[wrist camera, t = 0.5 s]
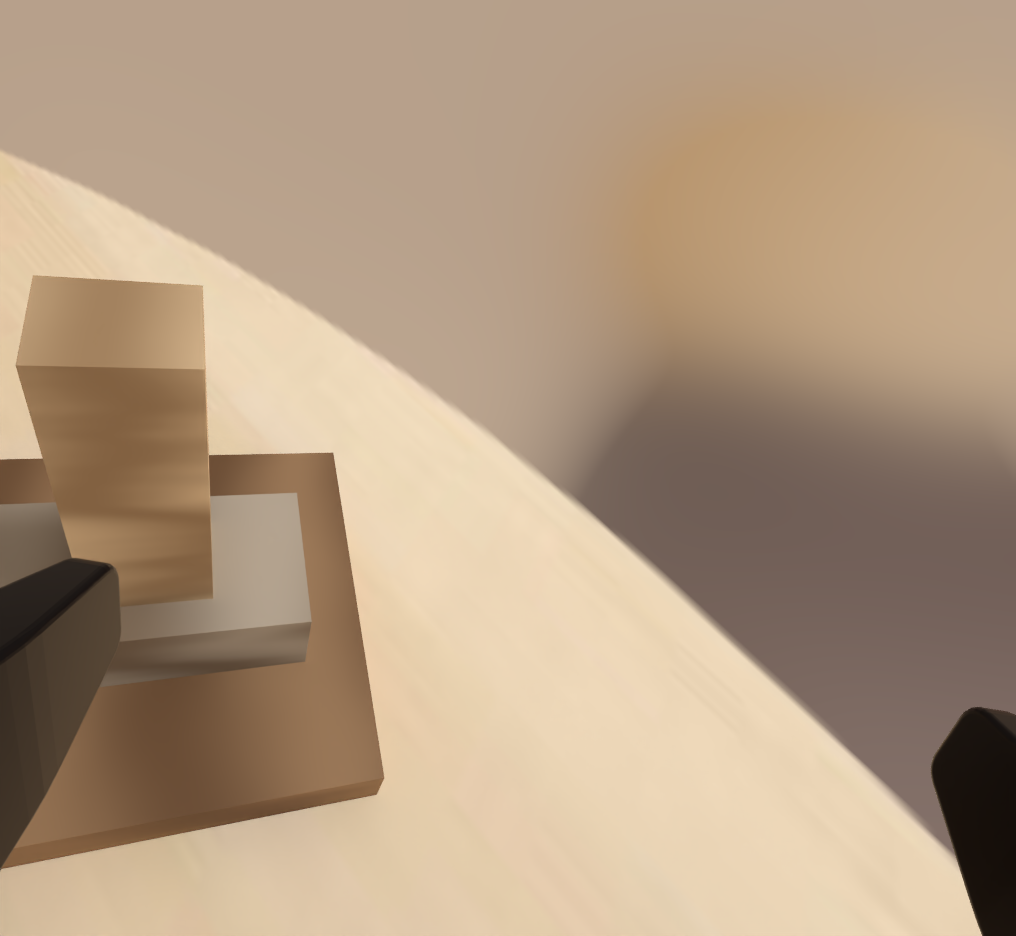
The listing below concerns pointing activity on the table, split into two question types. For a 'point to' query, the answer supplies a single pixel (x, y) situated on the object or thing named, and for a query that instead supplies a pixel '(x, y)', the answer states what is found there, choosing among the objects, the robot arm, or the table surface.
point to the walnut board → (222, 702)
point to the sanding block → (150, 485)
